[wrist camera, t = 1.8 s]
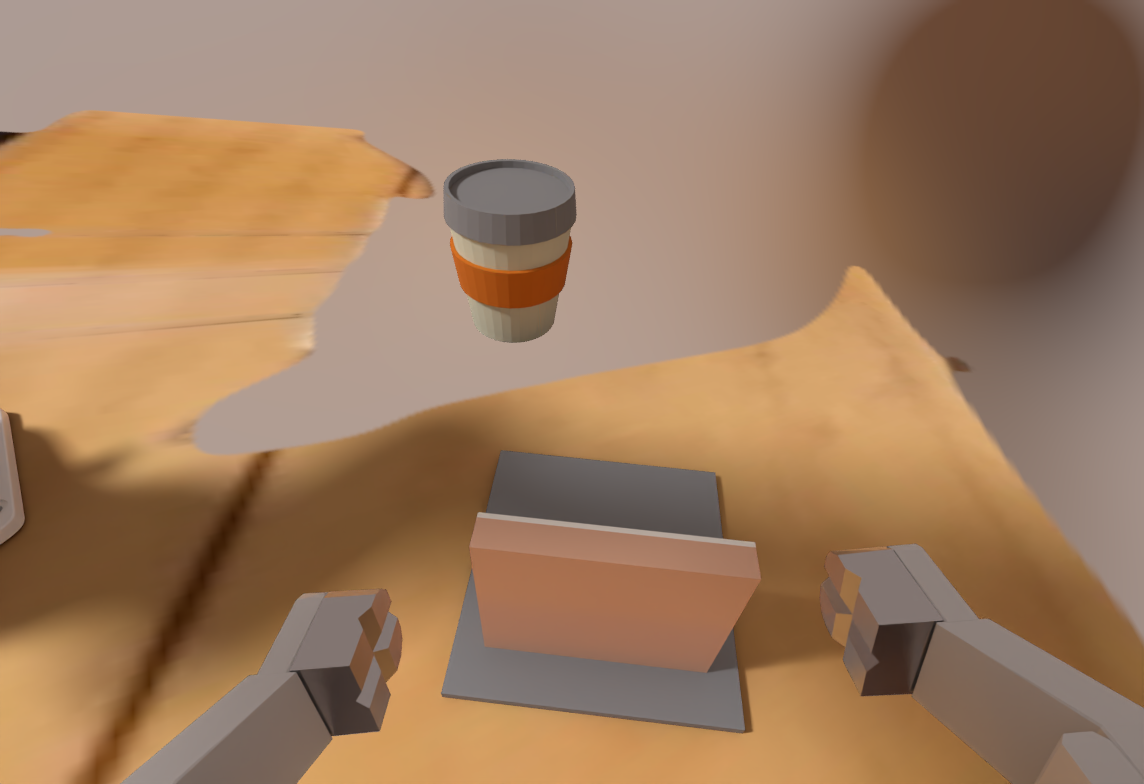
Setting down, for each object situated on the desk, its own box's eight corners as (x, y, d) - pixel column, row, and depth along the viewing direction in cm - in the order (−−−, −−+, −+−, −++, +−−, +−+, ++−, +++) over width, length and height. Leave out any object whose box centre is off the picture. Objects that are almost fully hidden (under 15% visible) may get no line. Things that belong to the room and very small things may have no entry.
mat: (742, 733, 33) (745, 730, 32) (442, 696, 33) (441, 693, 33) (713, 477, 46) (715, 472, 46) (501, 454, 47) (501, 450, 47)
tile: (706, 672, 34) (761, 579, 26) (484, 646, 35) (468, 547, 27) (704, 640, 36) (755, 541, 28) (491, 615, 36) (478, 512, 28)
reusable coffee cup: (476, 279, 66) (465, 152, 56) (579, 294, 65) (587, 166, 55) (440, 343, 57) (419, 206, 47) (558, 361, 56) (564, 224, 46)
